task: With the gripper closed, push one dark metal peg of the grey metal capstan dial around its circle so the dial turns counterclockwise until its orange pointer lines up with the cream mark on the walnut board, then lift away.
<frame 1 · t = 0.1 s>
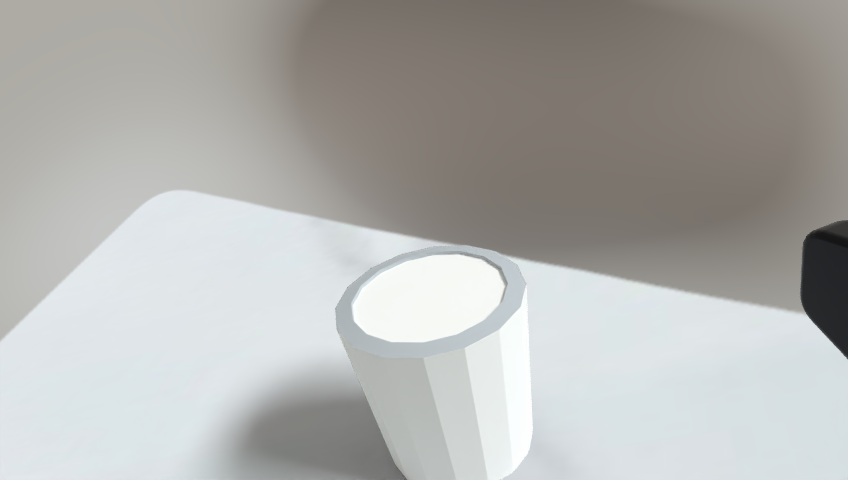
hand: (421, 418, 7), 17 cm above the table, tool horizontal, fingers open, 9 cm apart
shot glass: (462, 441, 31), on the table
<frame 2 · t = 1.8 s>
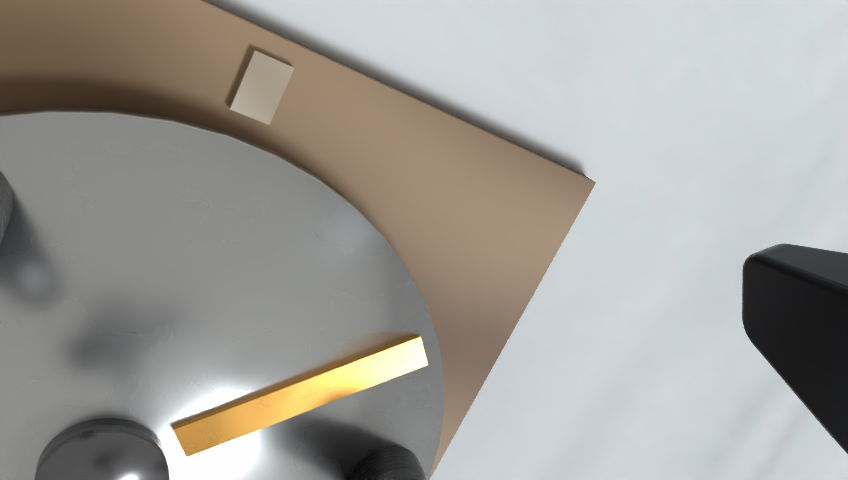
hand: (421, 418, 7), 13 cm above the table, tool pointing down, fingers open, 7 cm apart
stand board: (111, 423, 21), on the table
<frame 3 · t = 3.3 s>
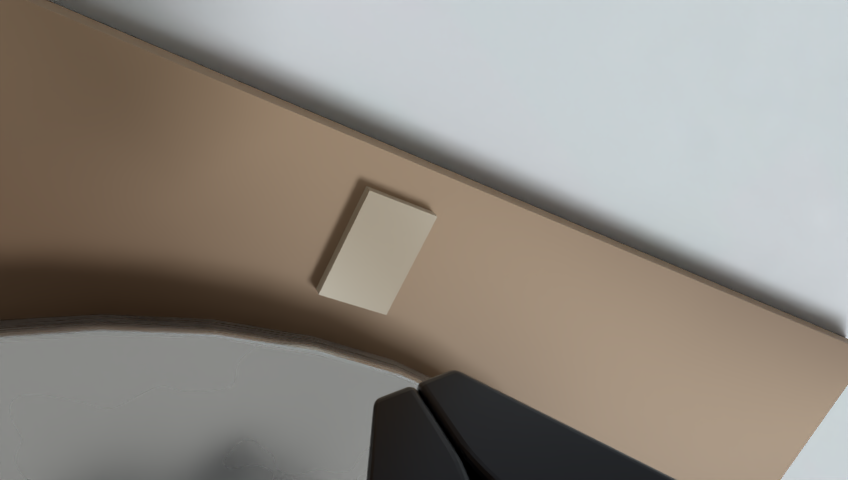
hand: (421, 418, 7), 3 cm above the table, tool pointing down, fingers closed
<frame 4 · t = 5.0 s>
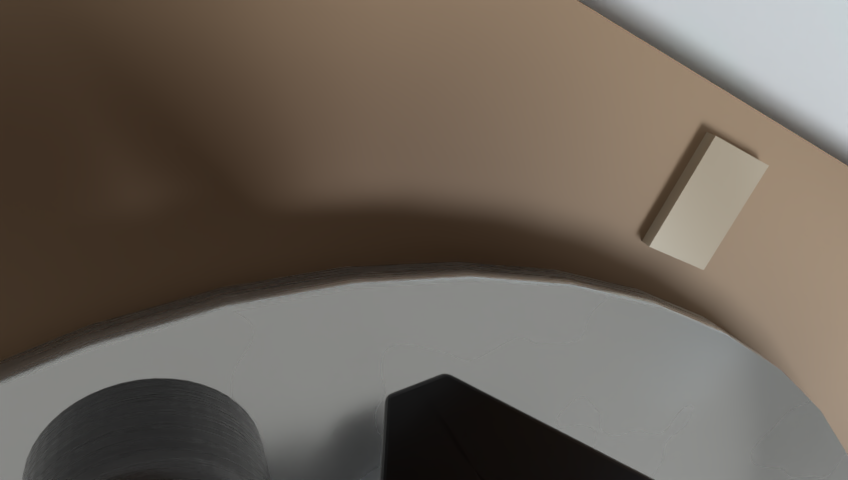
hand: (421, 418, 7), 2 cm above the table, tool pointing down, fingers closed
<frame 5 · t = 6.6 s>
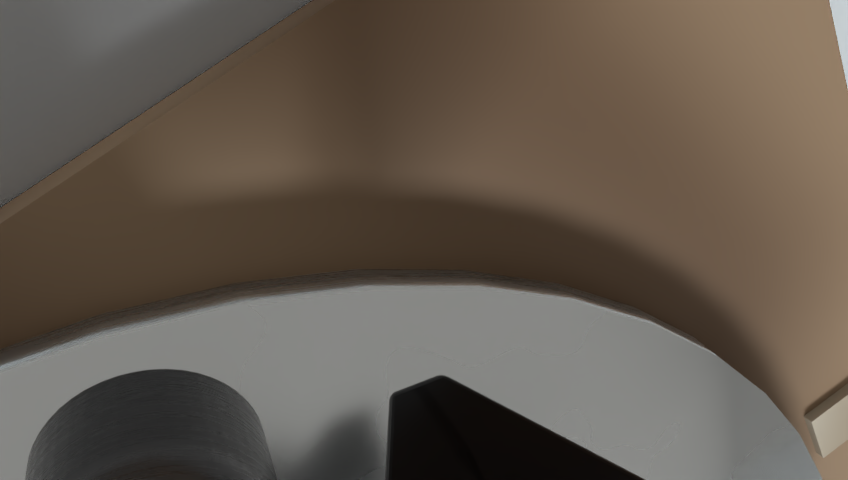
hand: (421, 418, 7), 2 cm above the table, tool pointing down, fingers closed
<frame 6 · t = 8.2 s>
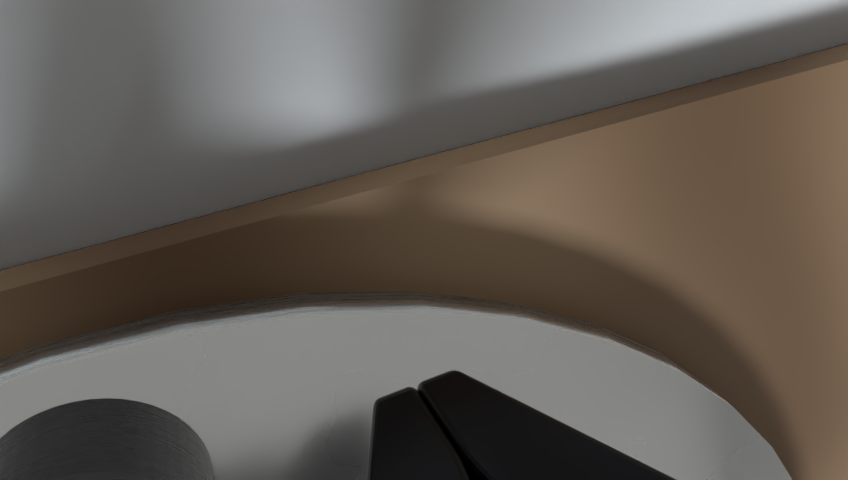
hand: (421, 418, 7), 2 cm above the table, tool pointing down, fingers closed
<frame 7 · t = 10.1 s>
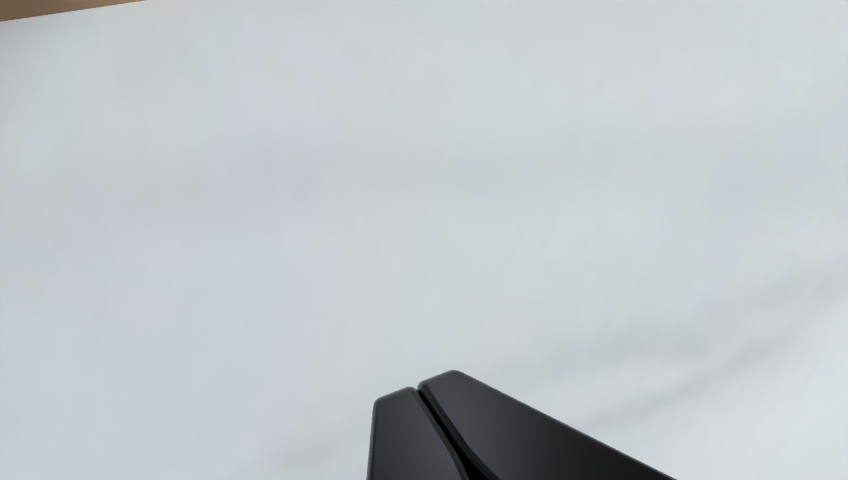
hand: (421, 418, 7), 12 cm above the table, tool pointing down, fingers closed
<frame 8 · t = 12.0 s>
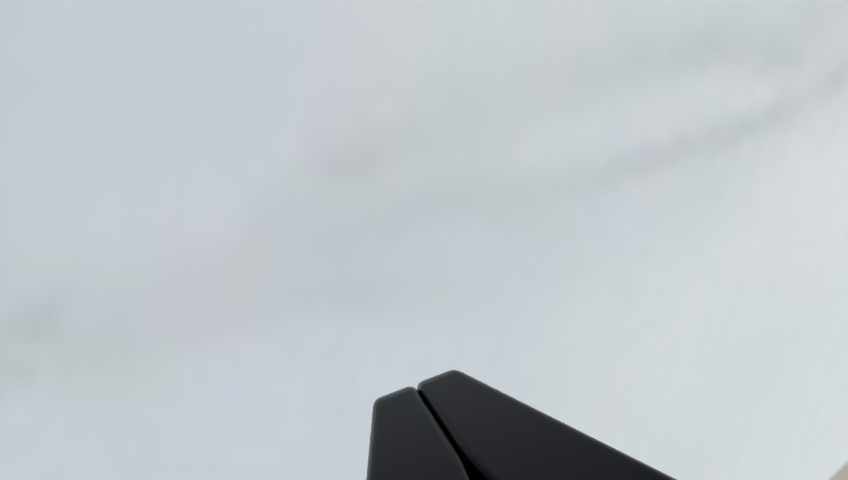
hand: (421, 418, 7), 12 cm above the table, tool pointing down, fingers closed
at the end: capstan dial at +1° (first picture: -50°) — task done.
